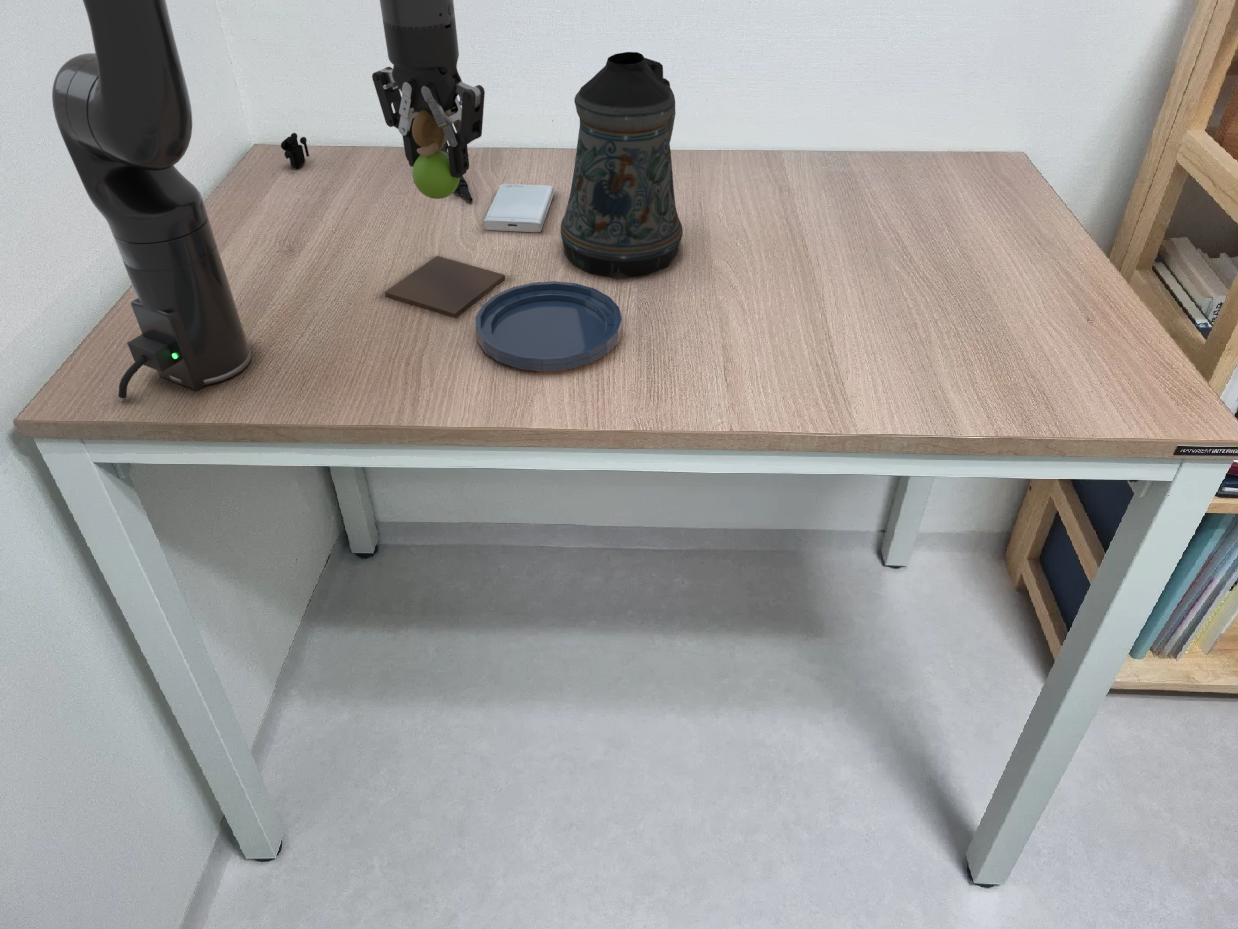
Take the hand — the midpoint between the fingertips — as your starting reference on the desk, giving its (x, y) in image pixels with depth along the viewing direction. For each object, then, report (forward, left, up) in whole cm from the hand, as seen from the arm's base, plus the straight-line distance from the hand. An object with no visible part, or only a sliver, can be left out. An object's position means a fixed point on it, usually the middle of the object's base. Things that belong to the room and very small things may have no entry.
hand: (438, 169), depth 107 cm
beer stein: (+21, -13, -16) cm, 30 cm away
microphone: (+27, +22, -16) cm, 39 cm away
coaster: (0, +2, -16) cm, 16 cm away
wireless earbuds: (+20, +46, -16) cm, 53 cm away
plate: (-3, -16, -16) cm, 23 cm away
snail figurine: (0, 0, -3) cm, 3 cm away
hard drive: (+23, +5, -16) cm, 29 cm away
